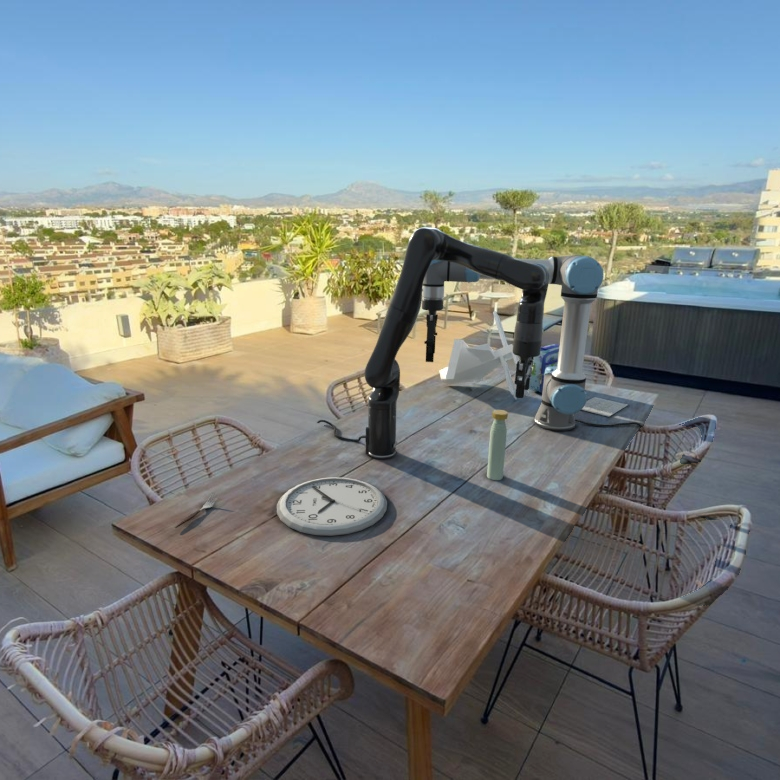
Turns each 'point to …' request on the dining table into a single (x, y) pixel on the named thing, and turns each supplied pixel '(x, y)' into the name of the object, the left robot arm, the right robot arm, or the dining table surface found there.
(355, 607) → the dining table surface
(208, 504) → the fork
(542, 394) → the right robot arm
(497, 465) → the bottle
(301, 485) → the wall clock
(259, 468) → the dining table surface
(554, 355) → the lunch box
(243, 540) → the dining table surface
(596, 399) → the invitation card
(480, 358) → the white plastic object
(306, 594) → the dining table surface
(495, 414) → the cap
